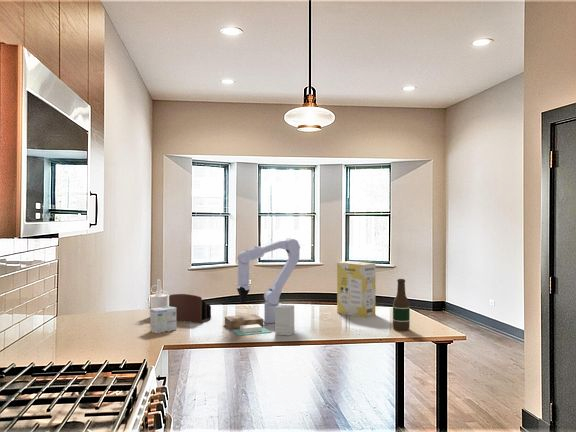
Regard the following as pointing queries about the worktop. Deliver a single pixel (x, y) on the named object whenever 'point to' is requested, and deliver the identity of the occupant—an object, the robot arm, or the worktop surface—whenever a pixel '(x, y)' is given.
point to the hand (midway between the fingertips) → (242, 302)
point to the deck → (242, 321)
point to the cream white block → (250, 328)
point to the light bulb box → (163, 319)
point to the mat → (251, 332)
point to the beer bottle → (401, 309)
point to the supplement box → (284, 320)
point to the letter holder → (190, 308)
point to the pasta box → (356, 288)
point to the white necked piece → (159, 297)
